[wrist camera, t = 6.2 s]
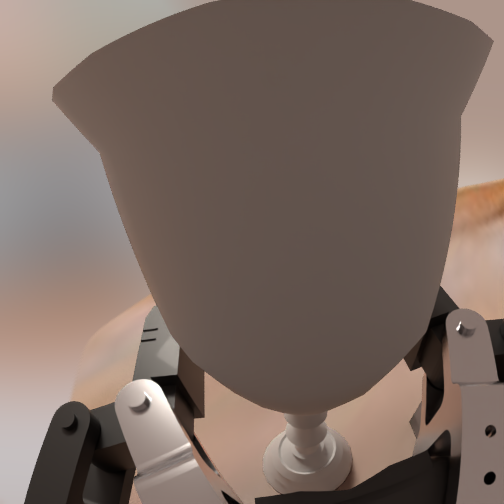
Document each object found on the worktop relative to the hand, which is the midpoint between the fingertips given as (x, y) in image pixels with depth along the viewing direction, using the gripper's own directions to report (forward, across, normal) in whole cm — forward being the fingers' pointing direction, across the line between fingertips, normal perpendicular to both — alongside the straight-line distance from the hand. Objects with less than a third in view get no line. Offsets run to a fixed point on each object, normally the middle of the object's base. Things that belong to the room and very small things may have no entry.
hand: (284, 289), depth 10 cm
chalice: (-2, 0, +11) cm, 11 cm away
